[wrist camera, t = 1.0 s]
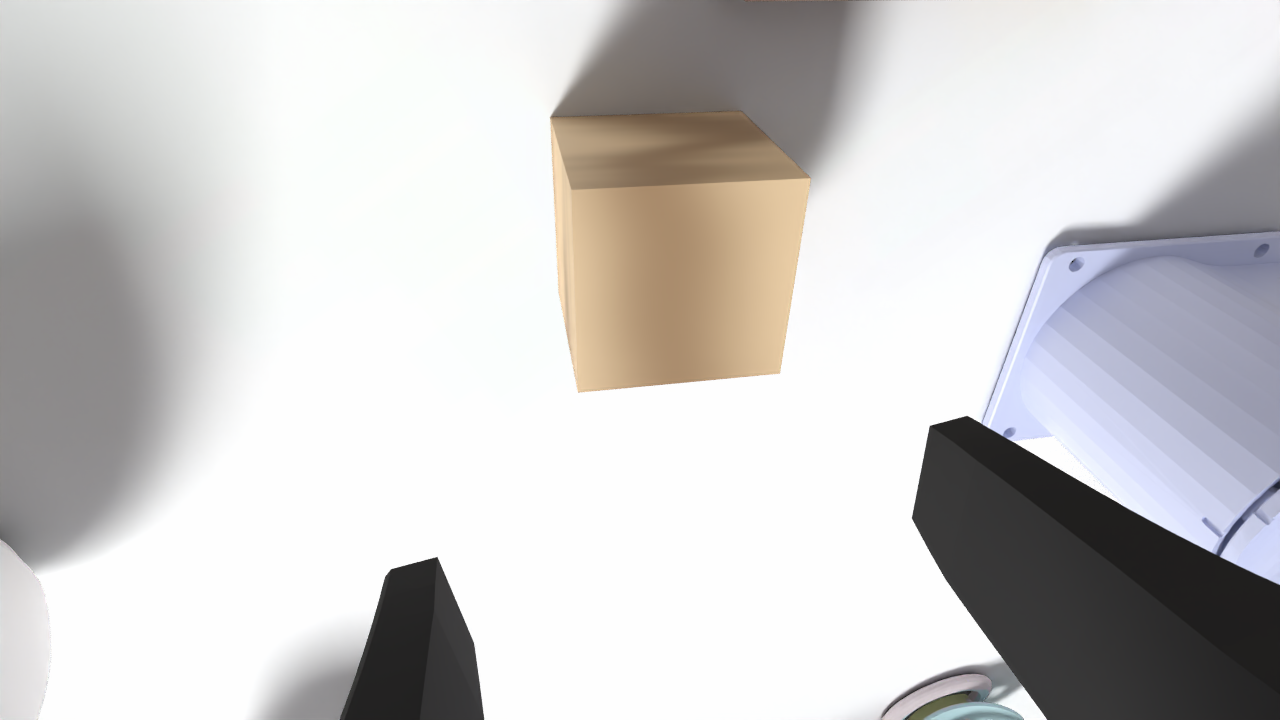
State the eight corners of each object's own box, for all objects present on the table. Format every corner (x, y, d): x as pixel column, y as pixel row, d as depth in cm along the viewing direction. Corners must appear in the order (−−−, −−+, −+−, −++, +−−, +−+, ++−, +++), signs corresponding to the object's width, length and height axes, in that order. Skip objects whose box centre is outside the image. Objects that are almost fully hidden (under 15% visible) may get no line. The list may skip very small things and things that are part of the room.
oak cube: (740, 110, 19) (810, 178, 15) (724, 278, 22) (779, 373, 18) (550, 116, 18) (571, 190, 14) (558, 290, 21) (578, 392, 17)
